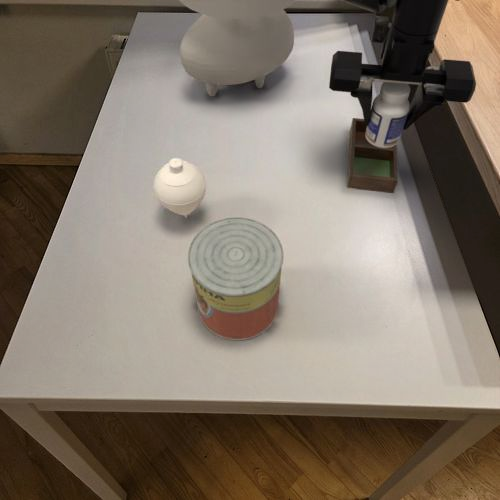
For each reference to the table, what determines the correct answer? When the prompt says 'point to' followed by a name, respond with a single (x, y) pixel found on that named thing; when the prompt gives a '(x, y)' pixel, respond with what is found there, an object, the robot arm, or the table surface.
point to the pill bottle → (388, 115)
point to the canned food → (236, 277)
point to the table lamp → (236, 41)
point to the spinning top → (180, 186)
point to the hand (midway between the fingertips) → (385, 126)
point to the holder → (370, 162)
